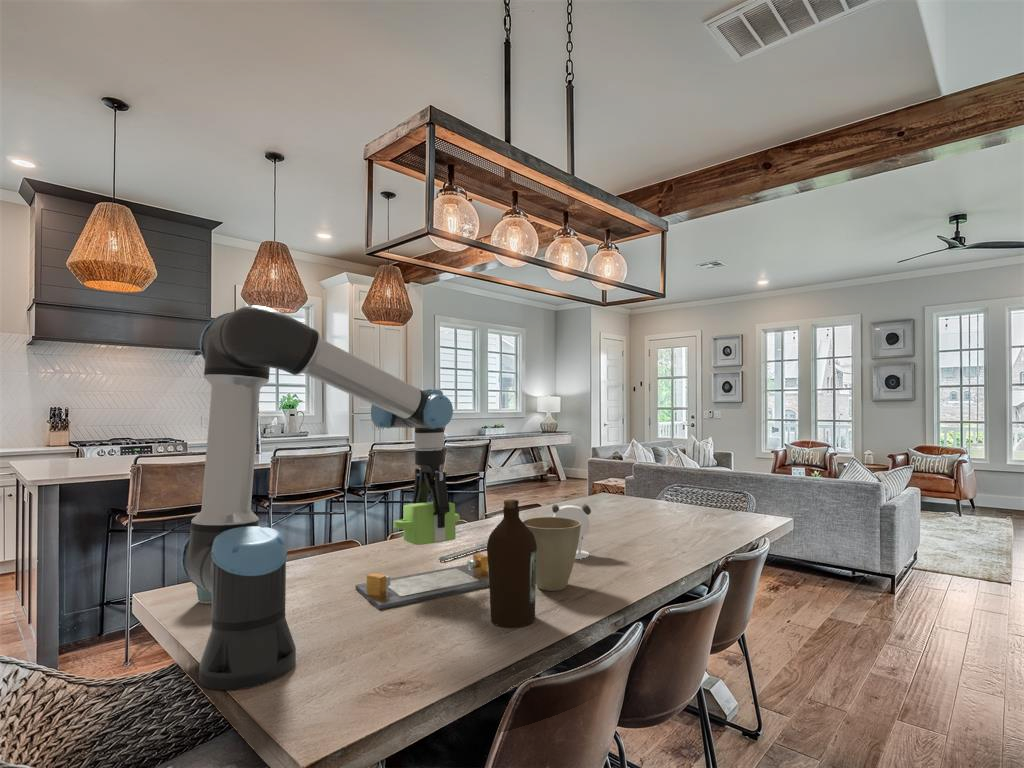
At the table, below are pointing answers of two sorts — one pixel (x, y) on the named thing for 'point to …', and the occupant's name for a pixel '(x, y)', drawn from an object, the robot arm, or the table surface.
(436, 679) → the table surface
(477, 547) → the adjustable wrench
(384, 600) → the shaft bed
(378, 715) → the table surface
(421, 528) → the green block with lugs
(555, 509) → the panda figurine
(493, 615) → the olive oil
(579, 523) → the plant pot
